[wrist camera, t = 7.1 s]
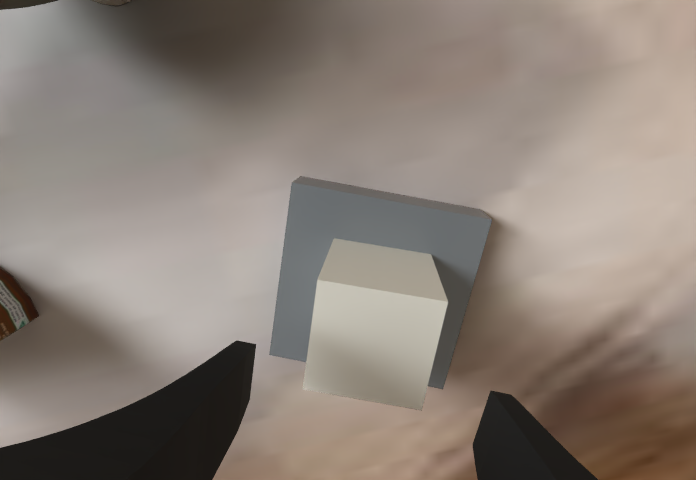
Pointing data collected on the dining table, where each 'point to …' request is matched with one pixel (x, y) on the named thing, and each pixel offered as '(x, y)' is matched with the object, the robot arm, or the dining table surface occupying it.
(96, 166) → the dining table surface
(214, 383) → the robot arm
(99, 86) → the dining table surface
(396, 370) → the block
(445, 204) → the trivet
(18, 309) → the food container
